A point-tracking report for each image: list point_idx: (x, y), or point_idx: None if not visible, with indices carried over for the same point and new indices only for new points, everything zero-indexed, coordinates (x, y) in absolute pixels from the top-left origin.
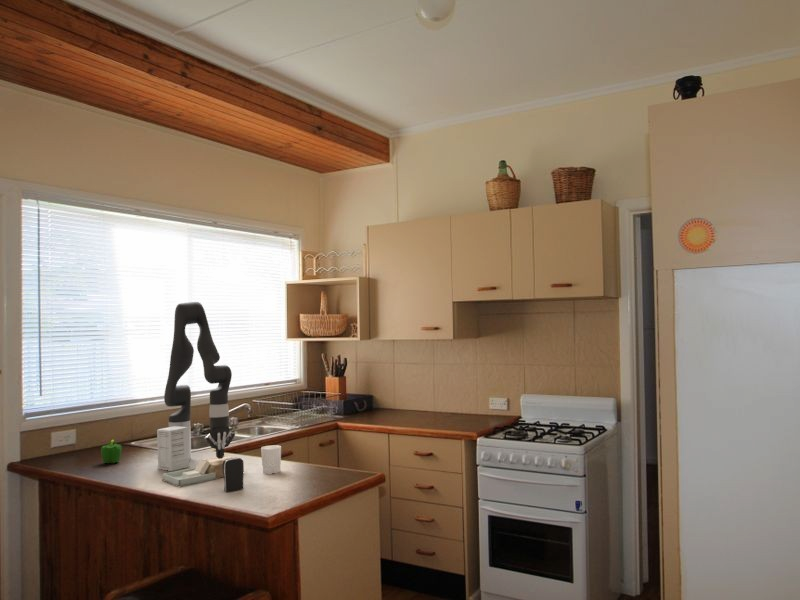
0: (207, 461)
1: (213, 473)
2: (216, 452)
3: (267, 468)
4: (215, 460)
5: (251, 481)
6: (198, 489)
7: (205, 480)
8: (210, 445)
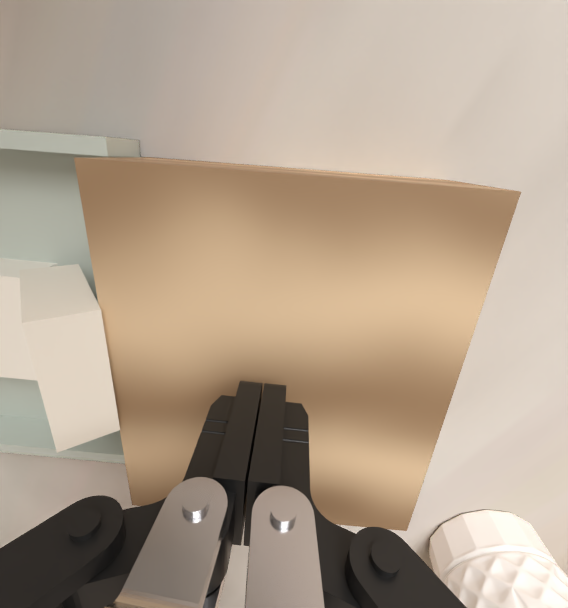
0: (71, 444)
1: None
2: (197, 455)
3: None
4: (235, 333)
5: None
6: (14, 515)
7: None
8: (6, 574)
